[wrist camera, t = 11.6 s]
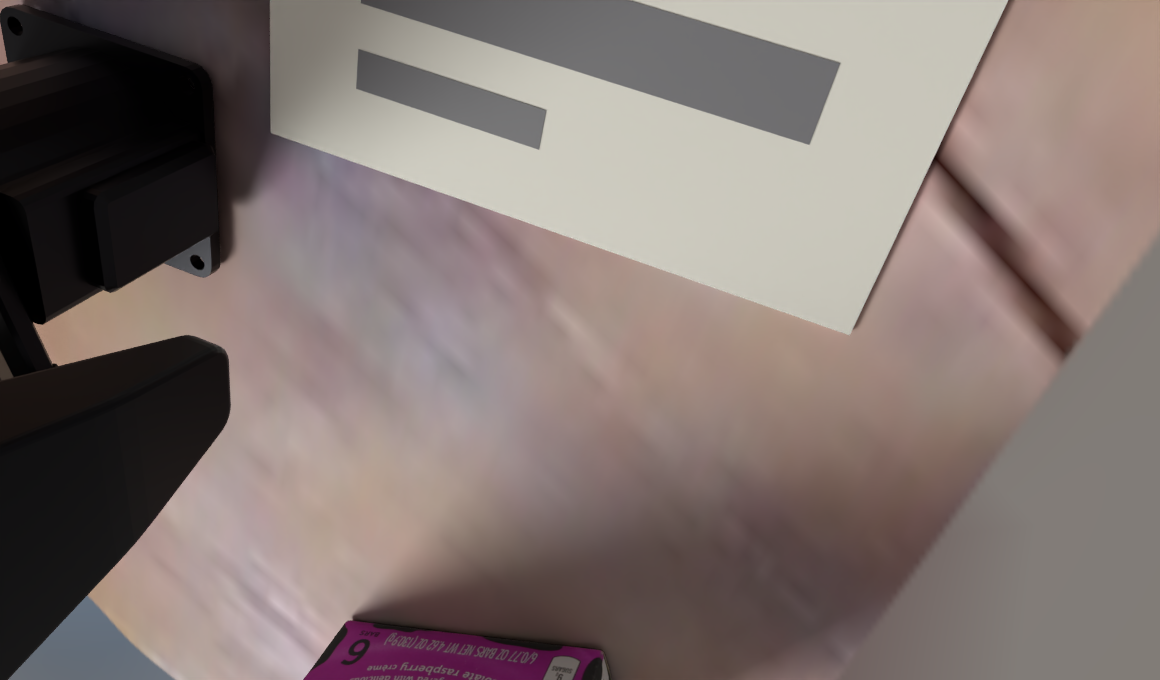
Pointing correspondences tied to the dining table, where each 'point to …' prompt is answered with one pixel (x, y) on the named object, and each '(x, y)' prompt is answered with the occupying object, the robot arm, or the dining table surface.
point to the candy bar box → (449, 657)
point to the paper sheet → (651, 122)
